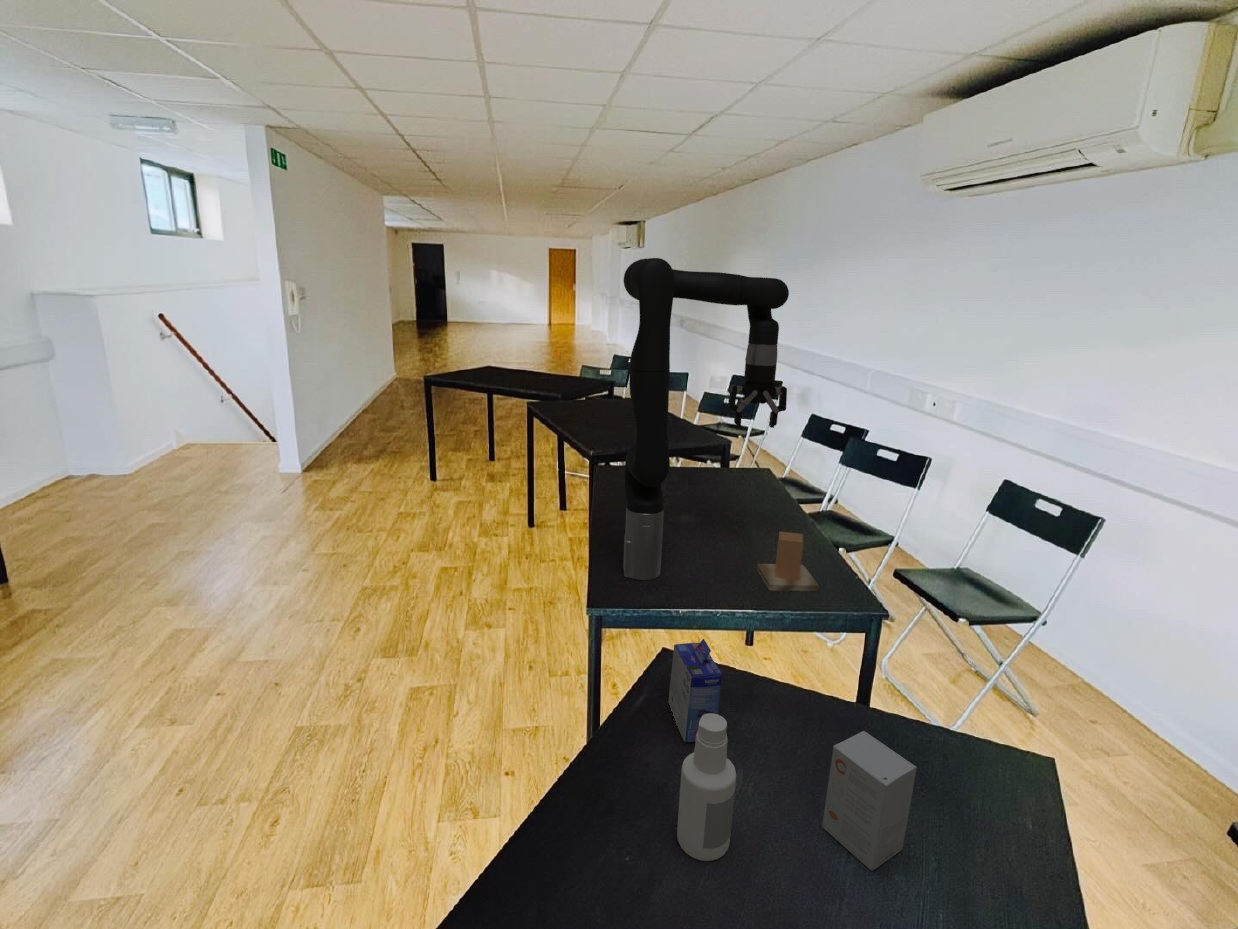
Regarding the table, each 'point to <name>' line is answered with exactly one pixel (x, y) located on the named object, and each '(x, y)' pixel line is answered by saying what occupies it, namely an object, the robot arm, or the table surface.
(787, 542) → the tall brown carton
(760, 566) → the post stand
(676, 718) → the ink cartridge box
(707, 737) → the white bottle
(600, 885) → the table surface
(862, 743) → the small box
